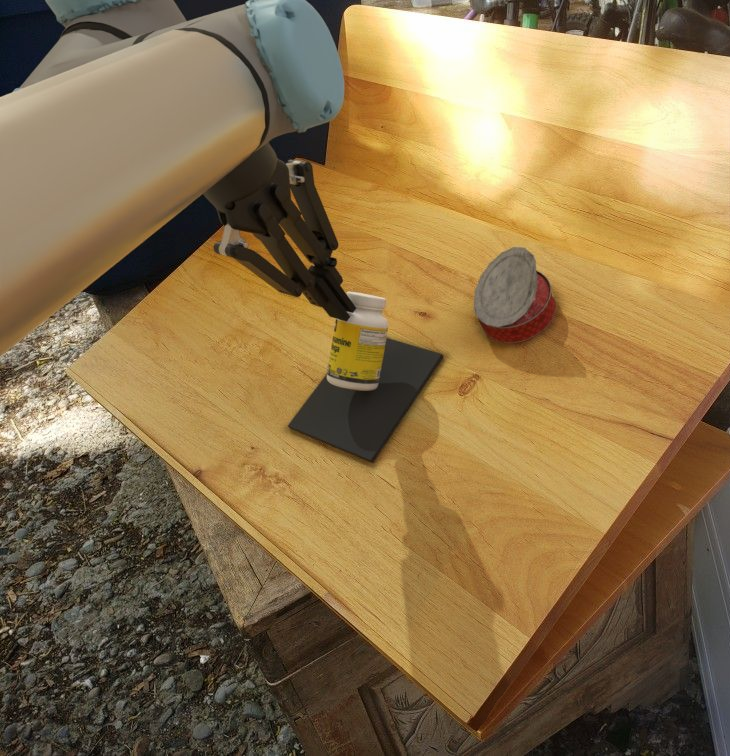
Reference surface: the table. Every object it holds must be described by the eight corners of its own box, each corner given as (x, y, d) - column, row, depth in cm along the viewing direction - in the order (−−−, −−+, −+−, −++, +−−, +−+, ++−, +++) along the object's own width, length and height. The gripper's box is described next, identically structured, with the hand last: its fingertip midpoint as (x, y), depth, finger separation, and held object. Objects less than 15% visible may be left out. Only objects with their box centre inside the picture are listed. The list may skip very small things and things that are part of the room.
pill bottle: (317, 378, 83) (332, 288, 81) (364, 381, 86) (379, 295, 85) (337, 389, 78) (352, 294, 76) (386, 393, 81) (401, 302, 80)
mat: (372, 463, 78) (370, 460, 78) (289, 428, 85) (287, 425, 85) (443, 356, 85) (442, 353, 84) (361, 332, 92) (359, 329, 91)
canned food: (556, 351, 86) (542, 336, 76) (480, 347, 89) (456, 333, 79) (563, 264, 87) (549, 239, 78) (488, 263, 90) (466, 238, 80)
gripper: (237, 92, 64) (352, 263, 83) (140, 190, 59) (285, 350, 77) (292, 96, 61) (399, 275, 79) (193, 202, 55) (332, 366, 74)
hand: (342, 312), depth 78 cm, fingers closed
